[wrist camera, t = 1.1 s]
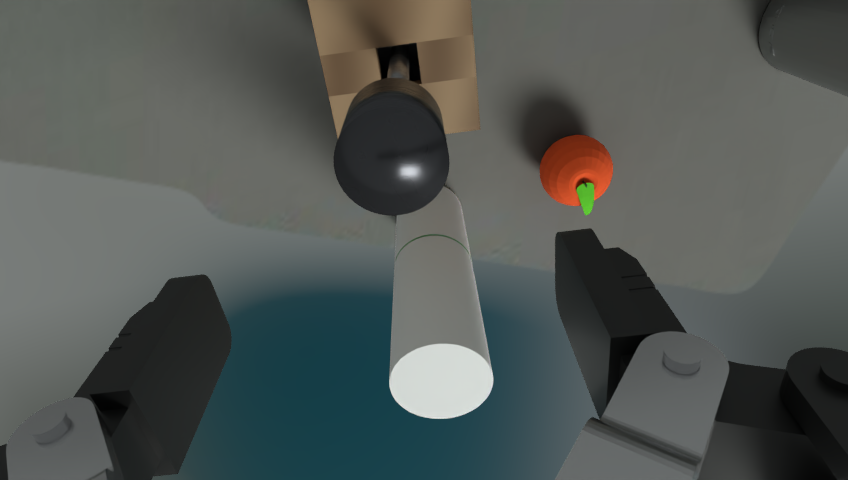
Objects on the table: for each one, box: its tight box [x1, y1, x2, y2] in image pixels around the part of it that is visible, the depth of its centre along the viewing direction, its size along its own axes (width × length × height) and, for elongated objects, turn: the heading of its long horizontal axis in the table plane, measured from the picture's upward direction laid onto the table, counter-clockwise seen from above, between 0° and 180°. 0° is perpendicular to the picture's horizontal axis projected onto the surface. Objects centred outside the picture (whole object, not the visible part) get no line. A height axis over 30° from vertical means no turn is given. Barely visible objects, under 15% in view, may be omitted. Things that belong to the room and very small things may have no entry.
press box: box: [307, 0, 480, 138], centre depth 39 cm, size 12×12×19 cm
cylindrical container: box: [389, 186, 493, 419], centre depth 47 cm, size 7×7×25 cm
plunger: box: [334, 43, 449, 215], centre depth 29 cm, size 7×7×24 cm
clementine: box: [540, 135, 613, 215], centre depth 52 cm, size 8×7×7 cm
